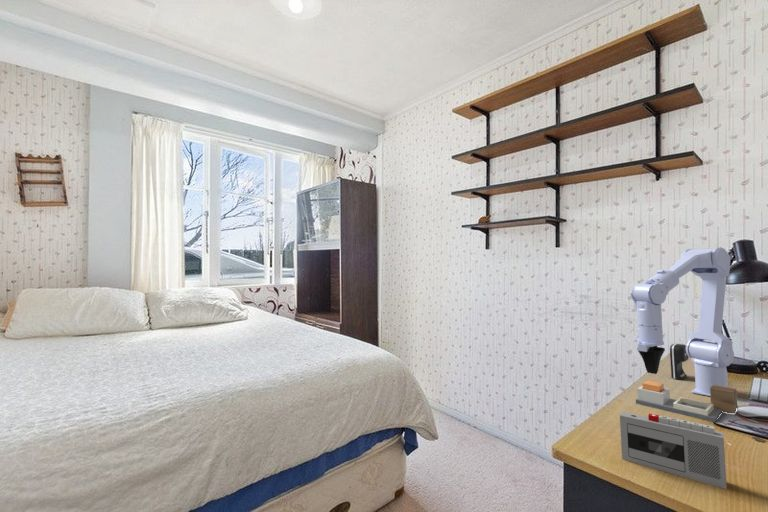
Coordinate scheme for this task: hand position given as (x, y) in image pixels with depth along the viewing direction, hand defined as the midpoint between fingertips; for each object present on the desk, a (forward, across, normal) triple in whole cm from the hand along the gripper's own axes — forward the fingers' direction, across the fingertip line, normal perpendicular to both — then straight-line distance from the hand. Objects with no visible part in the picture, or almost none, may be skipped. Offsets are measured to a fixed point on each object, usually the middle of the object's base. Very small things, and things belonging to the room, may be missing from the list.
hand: (652, 372), depth 103 cm
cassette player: (+9, +37, +13) cm, 40 cm away
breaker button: (+6, 0, 0) cm, 6 cm away
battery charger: (+9, -33, -1) cm, 34 cm away
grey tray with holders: (+8, 0, +5) cm, 10 cm away
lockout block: (+9, -7, +14) cm, 18 cm away
